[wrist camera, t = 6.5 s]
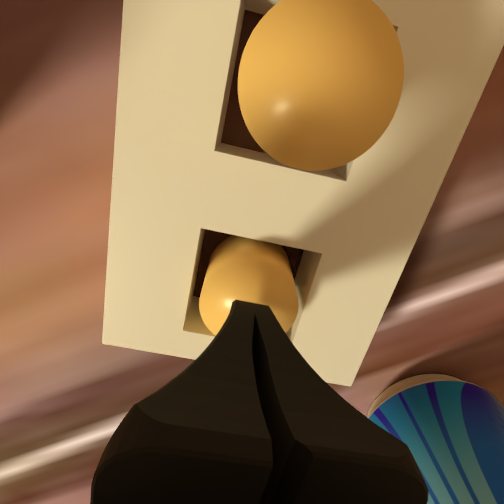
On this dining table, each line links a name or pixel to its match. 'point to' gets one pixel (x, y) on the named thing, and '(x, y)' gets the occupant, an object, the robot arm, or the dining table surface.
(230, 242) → the button
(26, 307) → the dining table surface
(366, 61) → the button
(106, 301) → the board
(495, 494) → the beer can
